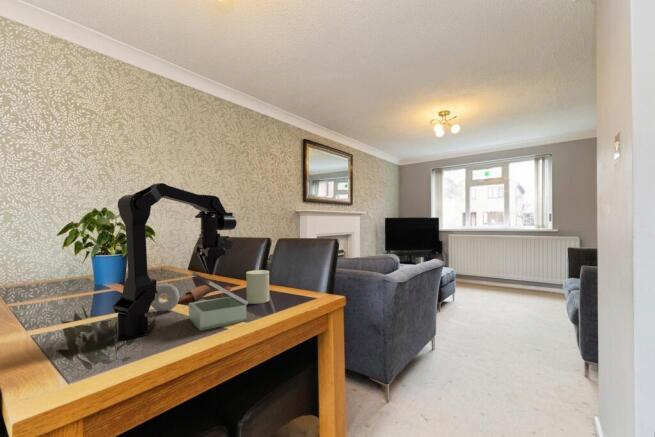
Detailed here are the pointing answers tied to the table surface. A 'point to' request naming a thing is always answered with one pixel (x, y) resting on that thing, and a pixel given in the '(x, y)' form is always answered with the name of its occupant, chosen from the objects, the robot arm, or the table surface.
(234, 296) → the lid
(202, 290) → the sunglasses case
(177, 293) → the donut
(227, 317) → the shallow mint tray
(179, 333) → the table surface
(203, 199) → the robot arm
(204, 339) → the table surface
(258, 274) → the can
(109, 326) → the table surface
